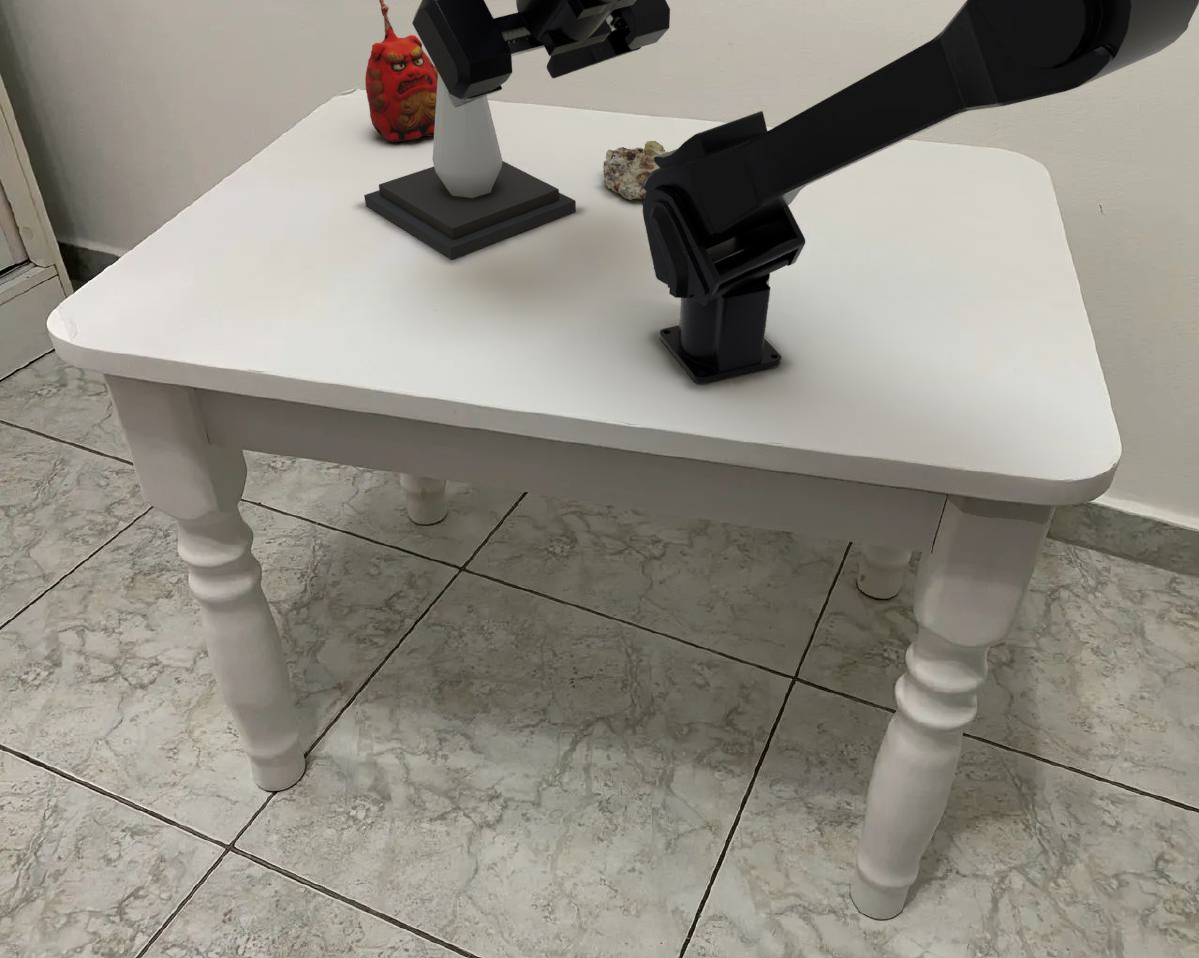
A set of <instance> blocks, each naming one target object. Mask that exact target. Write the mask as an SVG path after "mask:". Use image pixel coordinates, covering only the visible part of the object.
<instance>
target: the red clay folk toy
mask: <svg viewBox="0 0 1199 958" xmlns="http://www.w3.org/2000/svg"><path fill="white" fill-rule="evenodd" d="M378 1H379V4H380V11H381V14H382V15H381V16H383V23H384V39H383V40H382V41H381V42H375V43H373V44H372V45H371V51H370V56H369V58H368V61H367V65H366V71H365V78H364V79H365V81H364V82H365V92H366V97H367V102H368V108H369V117H370V121H371V124H372V126H373V128H374V129H375V130H376V132H377V133H378V134H379V135H380V137H382V138H384V140H387V142H392V143H397V142H405V141H414V140H415V141H416V140H419V139H421V138H422V137H433V136H434V129H435V113H436V97H437V82H438V71H437V69H436V67H435V65H434V63H433V62H432V60H431V58H430V56H429V55H427V54H426V53H425V51H424V50H423V43H422V41H421V39H420V38H419V37H417V36H416V35H415V34H410V35H407V36H405V37H398V36H397V35H396V33H395V31H394V28H393V26H392V24H391V21H390V19H389V16H388V13H389V9H390V7H389V6H388V5H387V4H386V3H385V2H384V0H378Z"/></svg>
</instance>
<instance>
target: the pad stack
mask: <svg viewBox="0 0 1199 958" xmlns="http://www.w3.org/2000/svg"><path fill="white" fill-rule="evenodd" d="M363 196H364V203H365V206H366V207H367V208H369V209H371V210H372V211H374V212H375V213H377V214H378V215H380V216H381V217H383V218H385V219H386V220H388V221H389V222H391V223H393V224H394V225H396V226H398V227H399V228H400V229H402V230H403V231H405V232H407V233H408V234H410V235H412V236H413V237H415V238H416V239H418V240H420V241H422V242H423V243H424V244H426V245H427V246H429V247H431V248H433V249H434V250H436V251H437V252H439V253H441V254H442V255H444V256H445V257H447V258H448V259H450V260H453V259H457V258H459V257H462V256H464V255H467V254H469V253H472V252H474V251H477V250H479V249H482V248H485V247H488V246H490V245H493V244H495V243H498V242H500V241H503V240H506V239H509V238H510V237H514V236H516V235H518V234H521V233H524V232H526V231H528V230H531V229H534V228H537V227H539V226H542V225H544V224H547V223H549V222H552V221H555V220H557V219H559V218H562V217H565V216H567V215H571V214H572V213H575V212H576V211H577V205H576V203H577V201H576V200H575V199H573V198H571V197H569V196H567V195H566V194H563V193H561V192H560V189H559V188H558V187H555V186H553V185H552V184H550V183H547V182H546V181H544V180H542V179H539V178H537V177H535V176H533V175H532V174H530V173H528V172H526V171H524V170H522V169H520V168H517V167H516V166H514V165H512V164H509V163H508V162H507V161H504V160H502V167H501V169H500V172H499V174H498V176H497V178H496V180H495V183H494V185H493V187H492V190H491V193H487V194H484V195H481V196H478V197H474V198H467V197H459V196H452V195H451V194H450V192H449V191H448V190H447V188H446V187H445V185H444V183H443V182H442V181H441V179H440V178H439V176H438V175H437V173H436V172H435V168H434V166H431V167H428V168H424V169H421V170H419V171H415V172H412V173H409V174H406V175H403V176H400V177H397V178H394V179H391V180H388V181H385V182H382V183H379V184H378V189H377V190H376V191H375V190H374V191H372V192H369V193H366V194H364V195H363Z"/></svg>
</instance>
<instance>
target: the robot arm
mask: <svg viewBox="0 0 1199 958" xmlns="http://www.w3.org/2000/svg"><path fill="white" fill-rule="evenodd" d="M515 4H516V5H515V6H516V11H517V12H513V13H509V14H506V15H502V16H497V17H493V15H492V13H491V11H490V8H489V6H488V5H487V3H486V2H485V0H421V2H420V4H419V5H418V8H417V9H416V12H415V13H414V17H413V19H412V23H411V24H412V26H413V27H414V29H415V32H416V33H417V35H418V38H419V40H420V41H421V43H422V46H423V47H424V48H425V50H426V52H427V54H428V57H429V59H430V60H431V62H432V64H433V65H434V66H435V67H436V69H437V71H438V73H439V75H440V77H441V79H442V80H443V82H444V84H445V86H446V88H447V90H448V96H449V98H450V100H451V102H452V104H453V106H454V107H459V106H462V105H465V104H467V103H470V102H472V101H475V100H477V99H480V98H482V97H485V96H487V97H488V96H490V95H492V94H495V93H497V92H500V91H502V90H503V87H502V85H503V84H504V83H506V82H507V81H509V78H510V77H511V75H512V74H513V58H512V57H514V56H518V55H523V54H525V53H529V52H532V51H536V50H540V49H545V51H546V53H547V54H548V57H549V59H548V62H547V64H546V70H547V72H548V73H549V76H550V78H551V79H552V80H553V79H557V78H560V77H563V76H566V75H568V74H571V73H574V72H578V71H580V70H583V69H586V68H589V67H592V66H595V65H599V64H601V63H603V62H607V61H610V60H613V59H615V58H618V57H622V56H625V55H627V54H630V53H633V52H637V51H639V50H641V49H642V48H643V47H646V46H649V45H654V44H657V43H658V42H659V40H660V39H661V38H662V37H663V36H664V35H665V34H666V33H667V32H668V31H669V29H670V23H671V22H670V21H671V8H670V6H669V4H668V2H667V0H515ZM1198 6H1199V0H966V1H964V3H963V4H962V5H961V7H960V8H959V9H958V11H957V12H955V14H954V16H953V17H952V18H951V19H950V21H948V22H947V25H945V27H944V28H943V29H942V30H941V31H940V32H939V33H938V34H936V35H935V37H933V38H932V39H931V40H929V41H927V42H925V43H924V44H922V45H919V46H918V47H916V48H914V49H913V50H911V51H909V52H908V53H905V54H904V55H902V56H900V57H898V58H896V59H895V60H893V61H891V62H890V63H888V64H886V65H884V66H882V67H880V68H879V69H877V70H875V71H873V72H871V73H870V74H868V75H866V76H864V77H863V78H861V79H858V80H857V81H855V82H853V83H852V84H849V85H848V86H846V87H844V88H842V89H841V90H839V91H838V92H835V93H834V94H831V95H830V96H828V97H827V98H824V99H823V100H821V101H819V102H818V103H816V104H813V105H812V106H809V108H807V109H805V110H803V111H801V112H800V113H798V114H796V115H793V116H792V117H791V118H788V119H787V120H785V121H784V122H781V123H779V124H778V125H776V126H775V127H772V128H771V129H769V130H768V127H767V124H766V120H765V119H766V118H765V115H764V112H763V110H760V111H758V112H757V111H756V112H754V113H752V114H749V115H746V116H743V117H740V118H738V119H735V120H732V121H729V122H726V123H723V124H721V125H717V126H715V127H711V128H709V129H706V130H704V131H700V132H698V133H695V134H693V135H692V136H691V137H689V138H688V139H687V140H685V141H684V142H683V143H682V144H681V145H680V146H679V147H678V148H676V149H673V150H670V151H666V152H667V153H664V154H662V155H659V156H656V157H654V162H655V163H656V164H657V165H658V166H659V167H660V168H659V169H656V170H654V171H653V172H652V173H651V174H650V175H649V176H648V177H647V179H646V181H645V183H644V190H645V191H646V194H645V199H643V203H642V216H643V223H644V227H645V231H646V237H647V242H648V245H649V251H650V255H651V260H652V265H653V268H654V269H653V270H654V273H655V274H654V275H655V278H656V280H658V281H660V282H662V283H663V284H664V285H667V288H668V289H669V293H668V295H670V296H672V297H674V298H675V299H676V298H677V299H680V308H679V325H675V326H669V327H665V328H662V329H660V331H659V339H660V340H661V341H662V343H663V344H664V345H665V346H666V347H667V349H668V350H669V352H671V354H672V356H673V357H674V358H675V359H676V360H677V361H678V362H679V363H680V365H681V366H682V367H683V368H684V370H685V371H686V373H687V374H688V375H689V376H690V377H691V379H692V380H693V381H694V382H696V383H701V384H703V383H707V382H712V381H716V380H720V379H725V378H730V377H733V376H734V377H735V376H738V375H743V374H747V373H751V372H755V371H759V370H763V369H767V368H772V367H777V366H779V365H781V364H782V363H781V362H782V355H781V354H780V353H779V352H778V350H776V349H775V347H774V346H773V345H772V344H770V342H769V341H768V340H767V339H766V338H765V336H766V327H767V319H768V311H769V302H770V294H771V286H770V278H771V273H774V272H776V271H778V270H780V269H782V268H784V267H786V266H788V267H789V266H792V265H794V264H795V263H796V262H797V261H798V259H799V256H800V254H801V253H802V251H803V250H804V248H805V245H806V238H805V236H804V234H803V232H802V230H801V228H800V226H799V224H798V222H797V220H796V218H795V216H794V215H793V212H792V210H791V209H790V207H789V206H790V205H791V204H792V203H793V201H794V200H795V198H797V196H798V194H799V193H800V192H801V191H802V190H803V189H804V188H806V187H807V186H808V185H811V184H813V183H815V182H817V181H820V180H822V179H824V178H825V177H828V176H830V175H832V174H835V173H837V172H839V171H842V170H843V169H846V168H847V167H850V166H852V165H854V164H857V163H858V162H860V161H863V160H865V159H867V158H869V157H871V156H873V155H875V154H877V153H880V152H882V151H884V150H886V149H888V148H891V147H893V146H895V145H897V144H899V143H902V142H903V141H906V140H908V139H911V138H912V137H914V136H917V135H919V134H921V133H924V132H926V131H928V130H930V129H932V128H934V127H937V126H938V125H941V124H943V123H945V122H947V121H949V120H952V119H953V118H955V117H958V116H960V115H963V114H964V113H967V112H971V111H979V110H986V109H993V108H999V107H1006V106H1010V105H1015V104H1019V103H1023V102H1027V101H1031V100H1036V99H1039V98H1043V97H1048V96H1052V95H1056V94H1061V93H1065V92H1068V91H1071V90H1074V89H1077V88H1080V87H1082V86H1084V85H1086V84H1089V83H1091V82H1094V81H1095V80H1098V79H1100V78H1102V77H1105V76H1107V75H1109V74H1112V73H1114V72H1116V71H1119V70H1121V69H1123V68H1126V67H1128V66H1130V65H1132V64H1135V63H1137V62H1139V61H1142V60H1145V59H1146V58H1149V57H1151V56H1153V55H1156V54H1158V53H1160V52H1162V51H1163V50H1165V49H1166V48H1168V47H1169V46H1171V45H1172V44H1174V43H1175V42H1176V41H1177V40H1178V39H1179V38H1180V37H1181V36H1182V35H1183V34H1184V33H1185V32H1186V31H1188V28H1189V24H1190V22H1191V20H1192V18H1193V16H1194V14H1195V12H1196V10H1197V8H1198Z"/></svg>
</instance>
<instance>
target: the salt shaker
mask: <svg viewBox="0 0 1199 958" xmlns="http://www.w3.org/2000/svg"><path fill="white" fill-rule="evenodd" d="M489 103H490V102H489V100H488V95H487V96H485V97H482V98H480V99H477V100H475V101H472V102H470V103H467V104H465V105H462V106H459V107H454V106H453V104H452V102H451V100H450V98H449V96H448V90H447V88H446V86H445V84H444V82H443V80H442V79H441V77H440V75H439V73H438V82H437V97H436V113H435V129H434V135H433V145H432V146H433V148H432V163H433V167H434V168H435V172H436V173H437V175H438V176H439V178H440V179H441V181H442V182H443V183H444V185H445V187H446V188H447V190H448V191H449V192H450V194H451V195H452V196H459V197H467V198H474V197H478V196H481V195H484V194H487V193H491V190H492V187H493V185H494V183H495V180H496V178H497V176H498V174H499V172H500V169H501V167H502V161H503V157H502V152H501V149H500V145H499V141H498V137H497V133H496V132H497V131H496V128H495V124H494V120H493V116H492V111H491V108H490V104H489Z"/></svg>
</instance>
